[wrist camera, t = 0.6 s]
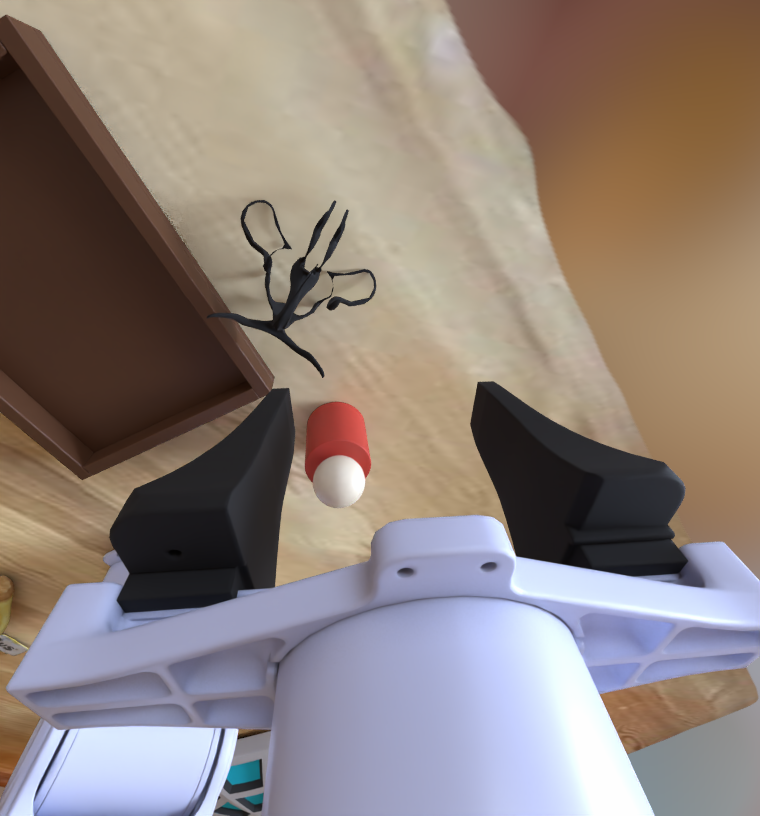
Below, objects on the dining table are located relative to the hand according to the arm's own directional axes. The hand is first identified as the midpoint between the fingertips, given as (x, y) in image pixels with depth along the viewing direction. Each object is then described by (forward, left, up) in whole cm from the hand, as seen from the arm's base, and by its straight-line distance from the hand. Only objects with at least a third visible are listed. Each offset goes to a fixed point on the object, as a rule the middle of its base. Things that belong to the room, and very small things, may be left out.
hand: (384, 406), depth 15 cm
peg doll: (-5, -6, -10) cm, 13 cm away
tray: (-13, +8, -10) cm, 19 cm away
